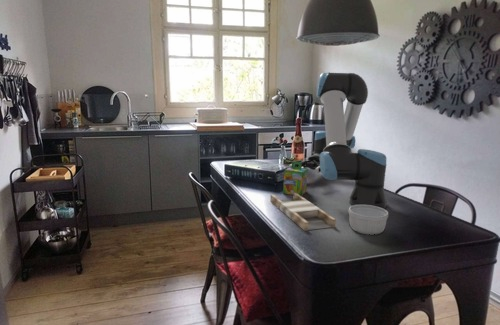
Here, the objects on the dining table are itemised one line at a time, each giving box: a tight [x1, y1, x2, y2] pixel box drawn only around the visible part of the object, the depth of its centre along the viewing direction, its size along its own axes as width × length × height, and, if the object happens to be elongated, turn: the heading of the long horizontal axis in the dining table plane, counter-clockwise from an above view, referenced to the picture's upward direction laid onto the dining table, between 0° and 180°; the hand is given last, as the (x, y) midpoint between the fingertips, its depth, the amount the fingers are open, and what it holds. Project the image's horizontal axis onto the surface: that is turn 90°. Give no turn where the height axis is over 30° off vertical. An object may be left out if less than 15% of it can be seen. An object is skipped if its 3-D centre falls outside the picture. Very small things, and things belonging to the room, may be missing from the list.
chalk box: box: [282, 161, 309, 197], centre depth 162 cm, size 9×9×15 cm
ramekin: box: [348, 205, 389, 236], centre depth 122 cm, size 13×13×7 cm
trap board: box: [270, 193, 337, 232], centre depth 137 cm, size 33×12×3 cm, turn 18°
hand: (302, 169), depth 170 cm, fingers open, 13 cm apart
